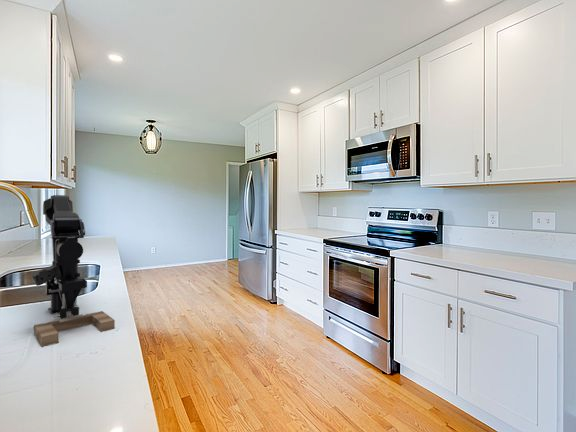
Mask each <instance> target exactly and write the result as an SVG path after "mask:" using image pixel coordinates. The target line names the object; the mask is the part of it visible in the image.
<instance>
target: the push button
mask: <svg viewBox="0 0 576 432" xmlns="http://www.w3.org/2000/svg"><path fill="white" fill-rule="evenodd" d="M60 294H62V307H61V308H62V309H61V310H60V313H55V314H52V315H55V316H53V318H54V319H55V318H59V319H62V318H66V317H71V316H76V315H80V306H78V304H77V302H78V300H77V298H78V297H77V298H76V300H75V302H74V304H73V306H72V308H71V309H69V310H67V308H66V304H65V299H64V295H63V293H62V292H60ZM57 315H58V316H57Z"/></svg>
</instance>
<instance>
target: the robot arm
mask: <svg viewBox="0 0 576 432" xmlns="http://www.w3.org/2000/svg"><path fill="white" fill-rule="evenodd" d="M73 209H74V206H73V201H72V200H70V196H69V195H66V194H65V195H63V194H62V195H61V194H60V195H59V194H57V195H56V194H54V195H51V196H50V197H49V198H48V199H45V200H43V202H42V215H44V216H45V217H44V219H45V222H46V224H48V225H49V226H50V236H51V245H52V263H51V264H52V265H49V266H46V267H44V268H41V269H39V270H36V271H34V272H32V273H30V277H31V279H32V281H33V283H34V285H36V286H37V287H38V286H41V285H43V284H44V283H45V288H44V289H45V290H44V291H45V295H46V296H50V307H48V308H47V310H48V312H49V313H50V314H52V315H53V314H55V313H60V310H61V309H62V308H61V307H62V294H60V292H62V293H63V295H64V299H65V304H66V308H67V310H69V309H71V308H72V306H73V304H74V302H75V300H76V298H78V297H79V295H80V292H81V291H82V289H86V288H88V281H87V280H86V279H85V278H83V277H82V276H81V273H80V272H79V264H80V263H81V260H80V258H81V257H82V255H83V254H84V248H83V245H82V244H81V243H80V242H79V239H84V238H85V235H86V228H85V224H84V222H83V220H82V218H80V216H79V214H78V213H76V212H73V211H74V210H73ZM55 315H56V314H55Z"/></svg>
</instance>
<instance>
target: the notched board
mask: <svg viewBox="0 0 576 432" xmlns="http://www.w3.org/2000/svg"><path fill="white" fill-rule="evenodd" d="M57 319H58V320H54V321H49V322H44V323H39V324H34V325H33V335H34V337H35V338H36V340H37V341H38V343H39V344H40V346H41V347H45V346H49V345H53V344H54V345H55V344H58V343H59V342H60V341H59V340H60V339H59V338H60V337H59V332H62V331H66V330H67V331H68V330H70V329H71V330H72V329H75V328H80V327H84V326H89V325H93V326H94V327H95V328H97V330H98V331H100V332H101V333H102V332H106V331H109V330H113V329H115V325H116V324H115V323H116V322H115V319H114V318H113V317H112V316H110V315H109V314H107V313H106V312H104V311H103V310H100V311H97V312H91V313H86V314H82V313H81V314H79V315H76V316H71V317H66V318H62V319H60V318H57Z"/></svg>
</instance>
